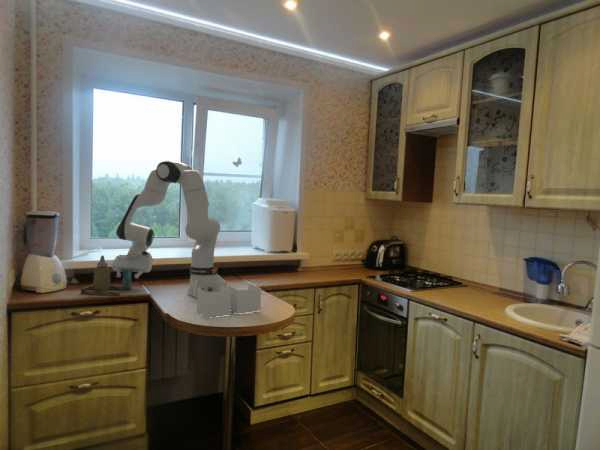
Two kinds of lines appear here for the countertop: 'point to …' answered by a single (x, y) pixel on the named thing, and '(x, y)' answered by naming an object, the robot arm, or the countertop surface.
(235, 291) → the storage container
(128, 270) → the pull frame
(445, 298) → the countertop surface
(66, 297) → the countertop surface
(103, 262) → the squeeze bottle
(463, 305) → the countertop surface
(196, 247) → the robot arm
